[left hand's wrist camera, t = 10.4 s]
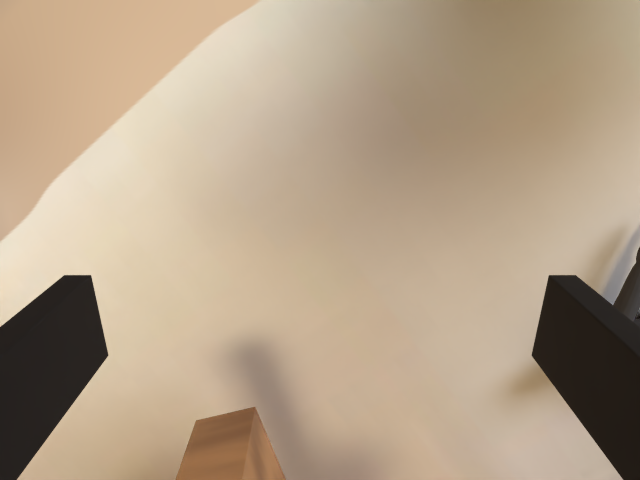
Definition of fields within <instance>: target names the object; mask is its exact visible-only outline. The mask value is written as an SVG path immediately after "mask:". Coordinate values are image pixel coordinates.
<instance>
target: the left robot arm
mask: <svg viewBox="0 0 640 480" xmlns="http://www.w3.org/2000/svg"><path fill="white" fill-rule="evenodd" d="M107 356H108V352H107V347H106V342H105V338H104V333H103V328H102V324H101V319H100V315H99V310H98V305H97V301H96V296H95V291H94V287H93V282H92V277H91V275H64V276H63V277H62V278H60V279H59V280H58V281H57V282H56V283H54V284H53V285H52V286H51V287H49V288H48V289H47V290H46V291H44V292H43V293H42V294H41V295H39V296H38V297H37V298H36V299H34V300H33V301H32V302H31V303H30V304H28V305H27V306H26V307H25V308H23V309H22V310H21V311H20V312H18V313H17V314H16V315H15V316H13V317H12V318H11V319H10V320H9V321H7V322H6V323H5V324H4V325H2V326H1V327H0V480H17V478H18V477H19V476H20V474H21V473H22V472H23V470H24V469H25V468H26V466H27V465H28V464H29V462H30V461H31V460H32V458H33V457H34V455H35V454H36V453H37V451H38V450H39V449H40V447H41V446H42V445H43V443H44V442H45V441H46V439H47V438H48V436H49V435H50V434H51V432H52V431H53V430H54V428H55V427H56V426H57V424H58V423H59V422H60V420H61V419H62V417H63V416H64V415H65V413H66V412H67V411H68V409H69V408H70V407H71V405H72V404H73V403H74V401H75V400H76V399H77V397H78V396H79V394H80V393H81V392H82V390H83V389H84V388H85V386H86V385H87V384H88V382H89V381H90V380H91V378H92V377H93V375H94V374H95V373H96V371H97V370H98V369H99V367H100V366H101V365H102V363H103V362H104V361H105V359H106V358H107ZM532 357H533V358H534V359H535V361H536V362H537V363H538V365H539V366H540V367H541V369H542V370H543V371H544V373H545V374H546V375H547V377H548V378H549V380H550V381H551V382H552V384H553V385H554V386H555V388H556V389H557V390H558V392H559V393H560V394H561V396H562V397H563V399H564V400H565V401H566V403H567V404H568V405H569V407H570V408H571V409H572V411H573V412H574V413H575V415H576V416H577V417H578V419H579V420H580V422H581V423H582V424H583V426H584V427H585V428H586V430H587V431H588V432H589V434H590V435H591V436H592V438H593V439H594V441H595V442H596V443H597V445H598V446H599V447H600V449H601V450H602V451H603V453H604V454H605V455H606V457H607V458H608V460H609V461H610V462H611V464H612V465H613V466H614V468H615V469H616V470H617V472H618V473H619V474H620V476H621V477H622V478H623V480H640V327H639V326H638V325H636V324H635V323H634V322H633V321H631V320H630V319H629V318H628V317H627V316H625V315H624V314H623V313H622V312H620V311H619V310H618V309H617V308H615V307H614V306H613V305H612V304H610V303H609V302H608V301H607V300H606V299H604V298H603V297H602V296H601V295H599V294H598V293H597V292H596V291H594V290H593V289H592V288H591V287H589V286H588V285H587V284H586V283H584V282H583V281H582V280H581V279H580V278H578V277H577V276H576V275H549V277H548V282H547V287H546V291H545V296H544V301H543V305H542V310H541V315H540V319H539V324H538V328H537V333H536V338H535V342H534V347H533V352H532Z"/></svg>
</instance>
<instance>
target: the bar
mask: <svg viewBox="0 0 640 480" xmlns="http://www.w3.org/2000/svg"><path fill="white" fill-rule="evenodd" d="M176 480H286V479H285V476H284V474H283V472H282V469H281V467H280V465H279V462H278V460H277V458H276V455H275V453H274V450H273V448H272V446H271V443H270V441H269V439H268V436H267V434H266V431H265V429H264V427H263V424H262V422H261V420H260V417H259V415H258V413H257V410H256V408H255V407H252V408H248V409H244V410H239V411H235V412H231V413H227V414H222V415H218V416H214V417H209V418H205V419H201V420H197V421H196V422H195V425H194V428H193V431H192V434H191V437H190V440H189V443H188V445H187V448H186V451H185V454H184V457H183V460H182V463H181V466H180V469H179V471H178V474H177V477H176Z"/></svg>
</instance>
